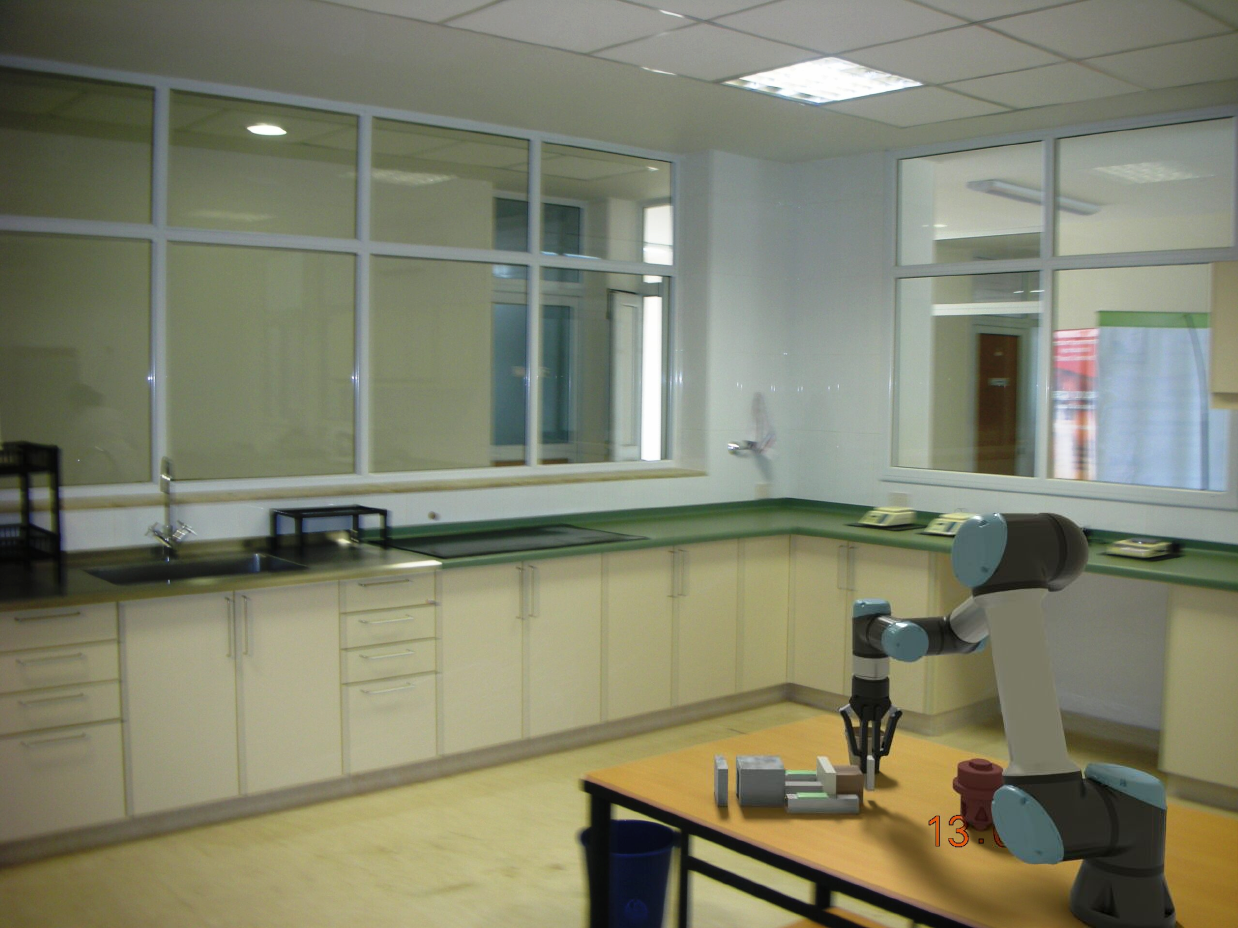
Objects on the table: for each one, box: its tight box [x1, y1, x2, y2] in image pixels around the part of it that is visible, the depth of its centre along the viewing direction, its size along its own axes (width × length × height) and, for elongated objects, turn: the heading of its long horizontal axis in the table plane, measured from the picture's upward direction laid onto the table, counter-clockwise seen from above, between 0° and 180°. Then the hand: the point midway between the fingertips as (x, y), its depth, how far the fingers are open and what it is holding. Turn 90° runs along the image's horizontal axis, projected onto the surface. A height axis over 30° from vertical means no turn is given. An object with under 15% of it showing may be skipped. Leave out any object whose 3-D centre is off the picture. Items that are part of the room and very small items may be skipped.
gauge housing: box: [713, 754, 860, 815], centre depth 218 cm, size 16×28×8 cm, turn 90°
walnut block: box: [831, 764, 864, 805], centre depth 218 cm, size 6×6×6 cm
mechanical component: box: [952, 757, 1004, 832], centre depth 204 cm, size 12×10×10 cm
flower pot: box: [842, 725, 885, 769], centre depth 235 cm, size 9×9×9 cm
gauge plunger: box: [785, 756, 836, 798], centre depth 218 cm, size 10×14×7 cm
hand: (869, 788), depth 218 cm, fingers closed
